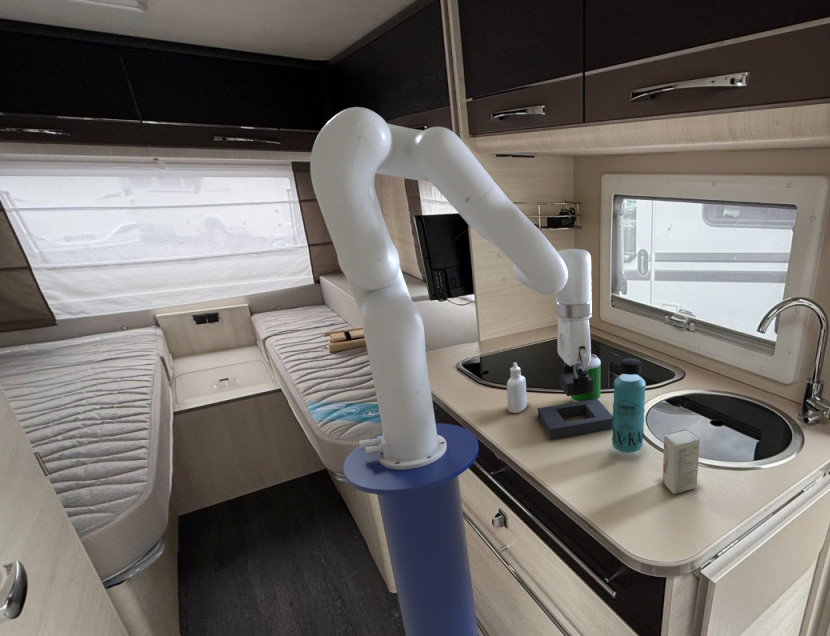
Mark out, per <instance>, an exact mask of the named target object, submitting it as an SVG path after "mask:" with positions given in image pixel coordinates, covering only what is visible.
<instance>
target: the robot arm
mask: <svg viewBox="0 0 830 636" xmlns="http://www.w3.org/2000/svg"><path fill="white" fill-rule="evenodd" d="M309 164H310V165H309V167H310V171H309V172H310V178H311V183H312V187H313V188H312V189H313V192H314V194H315V198H316V200H317V204H318V206H319V209H320V211H321V214H322V216H323V219H324V223H325V226H326V228H327V231H328V233H329V237H330V239H331V241H332V244H333V246H334V249H335V252H336V256H337V262H338V265H339V267H340V270H341V271H342V273H343V274H344V277H345V279H346V281H347V283H348V286H349V288H350V291H351V293H352V295H353V298H354V300H355V303H356V305H357V308H358V310H359V313H360V317H361V325H362V330H363V331H362V332H363V337H364V340H365V346H366V351H367V355H368V356H367V357H368V360H369V366H370V370H371V371H370V372H371V377H372V382H373V386H374V391H375V397H376V401H377V407H378V413H379V418H380V424H381V429H382V433H383V434H382V436H378V437H377V439H370V438H368V439H362V440H361V439H360V440H359V442H358V444H359V445H358V446H360V450H361V451H362V450H365V451H366V455H367V454H373V453H377V452H379V453H378V457H379V461H380V463H381V464H382V465H383V466H385V467H387V468H390V469H396V470H407V469H414V468H419V467H422V466H425V465H428V464H431V463H432V462H434V461H436V460H438V459H439V458H440V457H441V456H443V455H444V453H445V452H446V449H447V444H446V440H445V439H444V438H443V437H442V436H440V435H437V431H436V424H435V423H436V416H435V411H434V410H435V409H434V403H433V402H434V401H433V394H432V389H431V380H430V376H429V368H428V360H427V352H426V337H425V336H426V335H425V327H424V321H423V317H422V315H421V313H420V310H419V309H418V307H417V305H416V304H415V303H414V301H413V300H412V297H411V295H410V292H409V289H408V286H407V283H406V281H405V280H406V279H405V278H404V275H403V272H402V269H401V265H400V263H401V262H400V256H399V252H398V250H397V248H396V246H395V244H394V243H393V241H392V238H391V235H390V233H389V229H388V227H387V224H386V222H385V219H384V216H383V212H382V209H381V204H380V202H379V199H378V196H377V193H376V188H375V187H376V186H375V177H376V174H378V175H383V176H384V175H385V176H388V177H389V176H390V177H396V178H402V179H406V180H407V179H408V180H413V181H420V182H421V181H422V182H430V183H431V184H432V185H433V187H435V188H436V190H438V192H439V193H440V194H441V195H442V196H443V197H444V198H445V200H446V201H448V203H449V204H450V205H451V206H452V208H454V210H455V211H456V212H457V213H458V215H459V216H460V217H461V218H462V219H463V220H464V221H465V222H466V224H467V225H468V226H469V227H470V229H472V230H473V231H474V232H476V234H477V235H479V236H480V237H481V238H483V239H485V241H487V242H489V243H490V244H492V245H494V246H495V247H496V248H497V249H498V250H499V251H501V252H502V253H503V254H504V255H505V256H506V258H508V259H509V260H510V261H511V262H512V266H513V267H512V269H513V274H514V276H515V278H516V279H517V281H518V282H519V283H520V284H522V285H524V286H525V287H527V288H529V289H531V290H533V291H535V292H537V293H539V294H541V295H545V296H546V295H547V296H551V295H555V314H556V315H555V317H556V318H557V336H556V337H557V342H556V343H557V344H556V345H557V354H558V356H559V357H560V358H561V360H562V361H563V374H566V373H573V372H574V376H575V377H573V393H574V394H575V395H578V394H584V393H587V392H588V370H589V362H590V360H591V354H592V347H591V346H592V344H591V343H592V342H591V331H590V330H591V329H590V321H589V319H591V318H592V317H593V315H592V313H593V311H592V257H591V254H590V252H589V251H588V250H587V249H581V248H565V249H564V248H563V249H560V250H556V248H555V247H554V245H552V244H551V242H550V241H549V240H548V239H547V237H546V236H545V235H544V234H543V232H542V231H541V230H540V229H539V228H538V227H537V226H536V225H535V224H534V222H532V221H531V220H530V219H529V218H528V217H527V216H526V215H525V214H524V213H523V211H522V210H521V209H520V208H519V207H518V206H517V205H516V204H515V203H514V202H513V201H512V200H511V199H510V198H509V197H508V196H507V195H506V194H505V192H504V191H503V190H502V189H501V187H499V185H498V184H497V183H496V182H495V180H494V179H493V177H491V175H490V174H489V173H488V171H486V169H485V167H484V166H483V165H482V164H481V163H480V161H479V160H478V159H477V158H476V156H475V155H474V154H473V153H472V151H471V150H470V149H469V147H468V146H467V145H466V144H465V142H464V141H463V140H462V139H461V137H459V135H457V134H456V133H455V132H454V131H452V130H451V129H449V128H448V127H444V126H432V127H429V128H425V129H424V130H423V129H416V128H410V127H405V126H402V125H401V126H400V125H396V124H391V123H387V121H386V120H385V119H384V118H383V117H382V116H381V115H379V114H378V113H376V112H375V111H373V110H371V109H369V108H366V107H360V106H353V107H348V108H345V109H343V110H341V111H339V112H338V113H337V114H335V115H334V116H333V117H332V118H331V119H329V120H328V121H327V122H326V123H325V125H324V126H323V127H322V128H321V130H320V131H319V133H318V134H317V136H316V139H315V140H314V143H313V146H312V149H311V153H310V162H309ZM579 360H580V362H581V363H577V364H576V362H577V361H579ZM578 366H581V369H579V370H578Z"/></svg>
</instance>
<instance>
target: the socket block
mask: <svg viewBox="0 0 830 636" xmlns="http://www.w3.org/2000/svg"><path fill="white" fill-rule="evenodd" d="M580 415H586V416H587V418H583V419H576V420H571V421H570V420H569V421H565V420H564V418H567V417H572V416H580ZM612 415H613V413H611V412H610V411H609V410H608V408H606V406H605V405H603V403H602V402H601V401H600V400H598V399H593V400H586V401H580V402H573V401H572V402H568V403H562V404H561V403H560V404H555V405H549V406H542V407H537V417H538V420H539V422H540V424H541V425H542V427H543V428H544V430H545V432H546V434H547V435H548V437H549V439H550V440H555V439H561V438H567V437H571V436H578V435H583V434H589V433H594V432H600V431H605V430H610V429H611V430H612V429H613V426H612V423H613V420H612V419H613V416H612Z"/></svg>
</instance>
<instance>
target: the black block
mask: <svg viewBox="0 0 830 636" xmlns="http://www.w3.org/2000/svg"><path fill="white" fill-rule="evenodd" d="M558 377H559V378H558V379H559V387H560V389H561V390H562V391H563V393H564V394H565V395H566V397H571V396H574V395H575V394H574V393H573V377H575V376H574V372H573V373H566V374H564V373H560V374H558ZM592 392H593V380H592V379H591V378H590V377H589V375H588V392H587V393H592ZM584 394H586V393H584ZM578 395H580V394H578Z"/></svg>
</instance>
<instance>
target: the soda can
mask: <svg viewBox="0 0 830 636" xmlns="http://www.w3.org/2000/svg"><path fill="white" fill-rule="evenodd" d="M577 363H581V362H580V360H579V361H577V362H576V364H577ZM601 363H602V362H601V359H600V358H599V357H598V356H597V355H596V354H594V353H591V360H590V362H589V370H588V375H589V377H590V378H591V379H592V380H593V392H592V393H586V394H580V395H574V396H570V400H571V401H572V403H573V402H580V401H586V400H593V399H598V400H599V401H600V400H601V365H602V364H601ZM579 369H581V366H578V370H579Z"/></svg>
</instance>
